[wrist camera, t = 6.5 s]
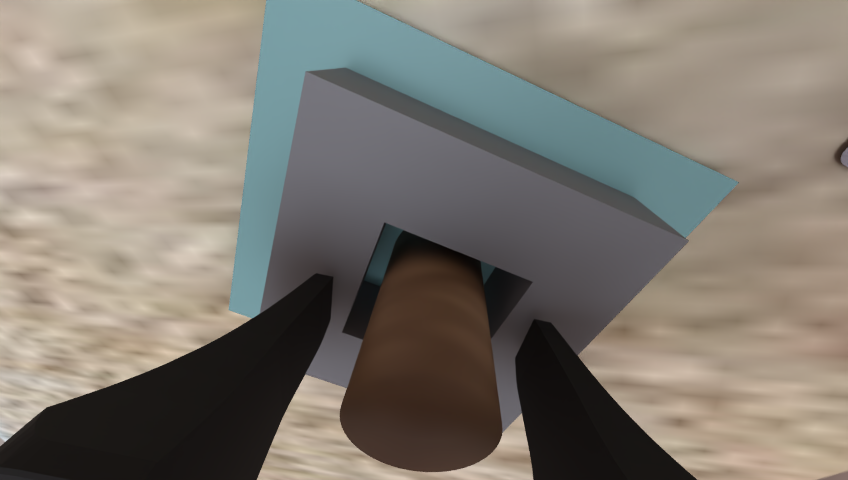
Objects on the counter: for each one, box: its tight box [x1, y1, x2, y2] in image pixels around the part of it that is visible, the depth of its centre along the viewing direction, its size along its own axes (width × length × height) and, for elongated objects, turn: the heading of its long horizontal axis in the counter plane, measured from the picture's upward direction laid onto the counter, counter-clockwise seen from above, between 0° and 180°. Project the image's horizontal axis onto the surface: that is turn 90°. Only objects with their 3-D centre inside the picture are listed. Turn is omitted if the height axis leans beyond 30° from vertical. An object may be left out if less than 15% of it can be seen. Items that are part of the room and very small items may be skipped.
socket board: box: [229, 0, 739, 433], centre depth 14 cm, size 18×16×4 cm
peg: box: [340, 230, 503, 472], centre depth 12 cm, size 4×4×8 cm
